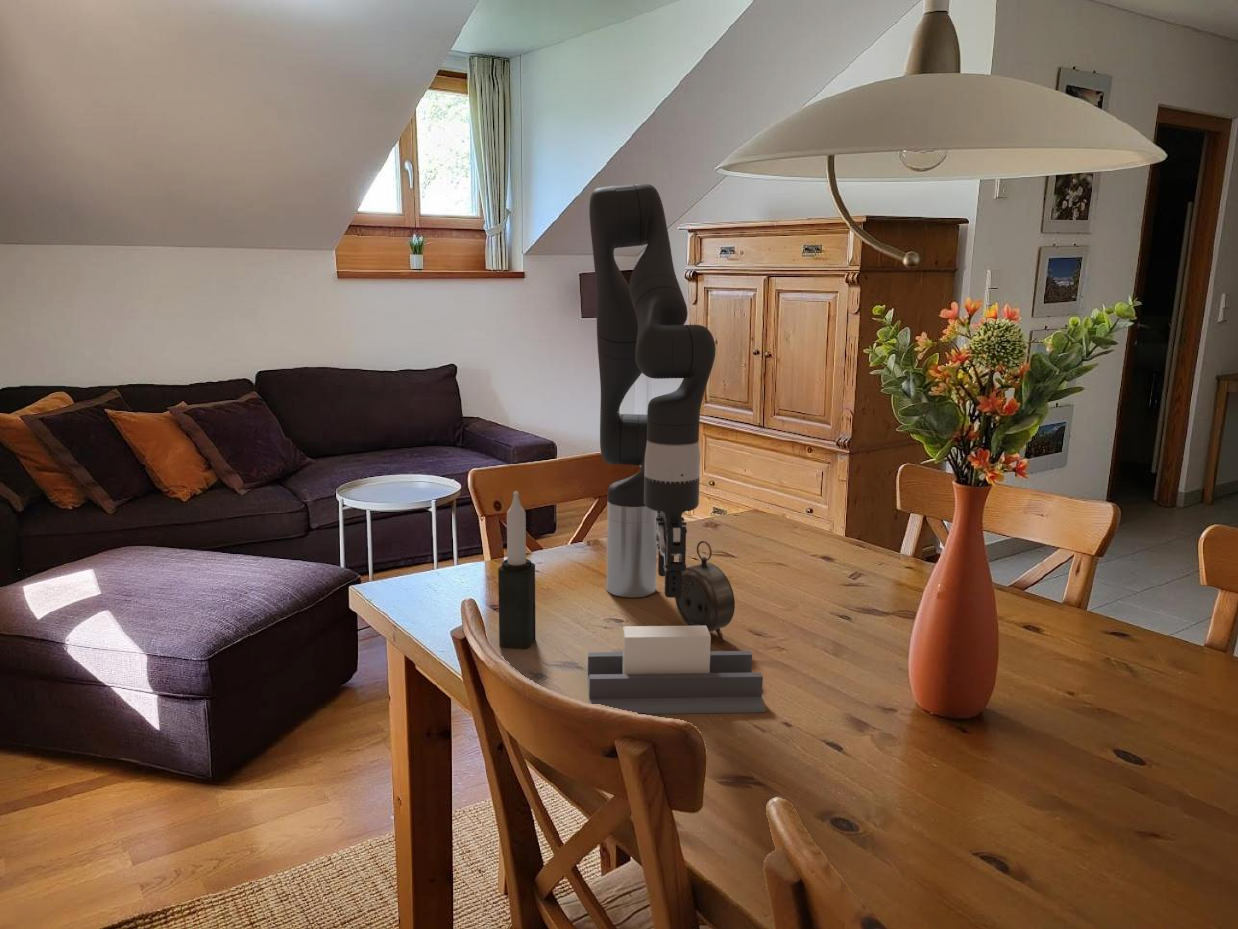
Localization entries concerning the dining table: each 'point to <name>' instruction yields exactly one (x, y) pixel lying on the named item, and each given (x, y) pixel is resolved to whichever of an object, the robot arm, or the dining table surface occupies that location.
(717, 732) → the dining table surface
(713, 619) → the alarm clock
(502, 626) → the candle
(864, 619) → the dining table surface
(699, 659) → the white rectangular block
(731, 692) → the door track
